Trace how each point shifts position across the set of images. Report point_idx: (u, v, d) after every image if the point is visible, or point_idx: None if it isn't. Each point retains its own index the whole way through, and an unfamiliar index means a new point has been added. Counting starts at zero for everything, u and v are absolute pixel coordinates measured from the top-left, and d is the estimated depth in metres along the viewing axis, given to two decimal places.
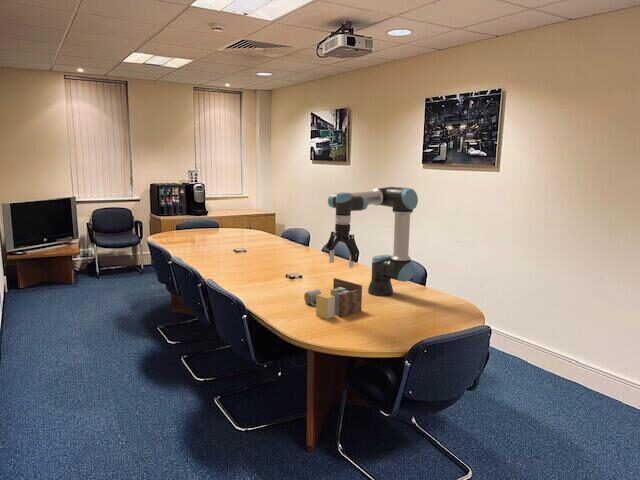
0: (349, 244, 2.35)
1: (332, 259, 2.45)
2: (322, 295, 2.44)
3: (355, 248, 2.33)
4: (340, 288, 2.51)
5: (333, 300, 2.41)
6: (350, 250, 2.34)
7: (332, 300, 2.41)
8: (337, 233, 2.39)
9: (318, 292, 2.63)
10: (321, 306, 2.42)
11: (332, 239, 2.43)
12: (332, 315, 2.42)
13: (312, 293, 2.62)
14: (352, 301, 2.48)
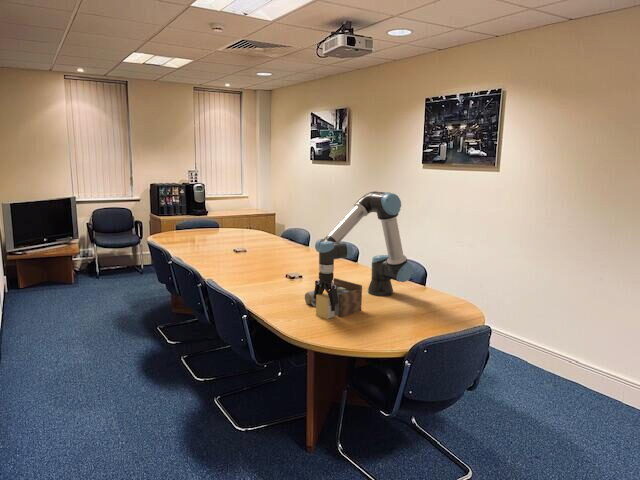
0: (331, 294, 2.40)
1: None
2: (322, 295, 2.44)
3: (335, 299, 2.37)
4: (340, 288, 2.51)
5: None
6: (330, 300, 2.39)
7: None
8: (320, 280, 2.42)
9: None
10: (321, 306, 2.42)
11: (318, 288, 2.46)
12: None
13: (313, 293, 2.61)
14: (352, 301, 2.48)
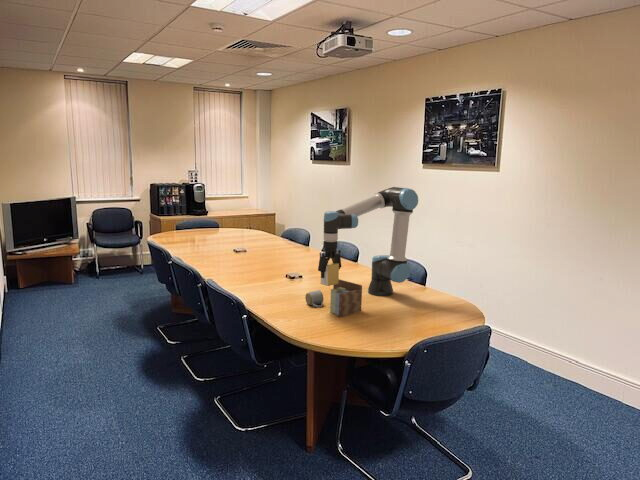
0: (324, 261, 2.49)
1: None
2: (331, 263, 2.54)
3: (319, 266, 2.47)
4: (340, 288, 2.51)
5: (326, 268, 2.49)
6: None
7: None
8: None
9: (319, 293, 2.62)
10: None
11: (337, 257, 2.56)
12: None
13: (314, 294, 2.60)
14: (352, 301, 2.48)
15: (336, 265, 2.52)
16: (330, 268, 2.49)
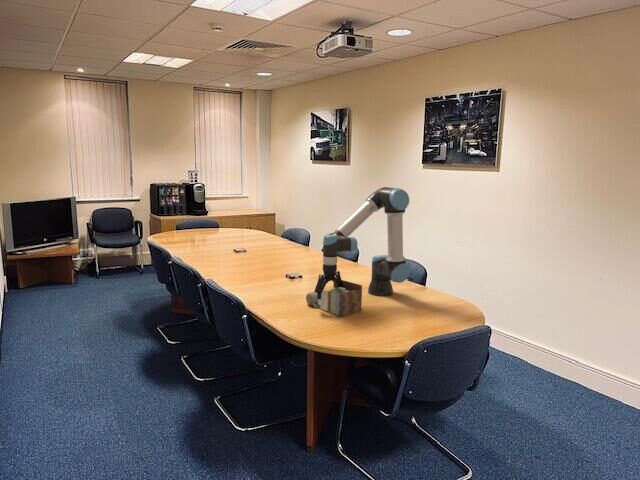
0: (322, 283, 2.51)
1: None
2: (330, 288, 2.57)
3: (317, 287, 2.48)
4: (340, 288, 2.51)
5: (326, 294, 2.51)
6: None
7: (325, 294, 2.52)
8: None
9: None
10: None
11: (337, 278, 2.58)
12: (325, 308, 2.53)
13: (314, 294, 2.60)
14: (352, 301, 2.48)
15: None
16: (330, 294, 2.52)
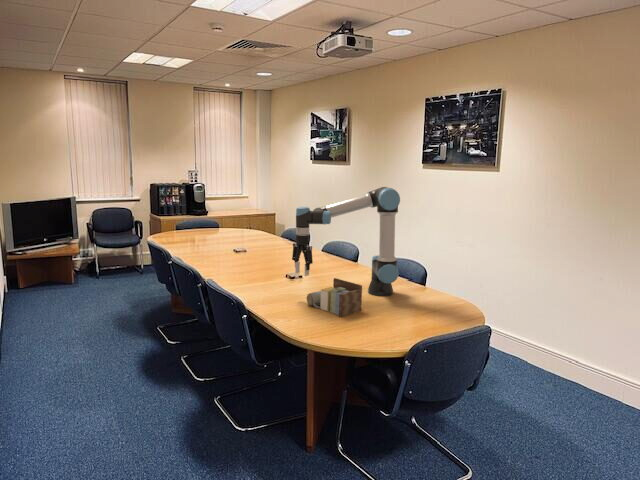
0: (306, 254, 2.65)
1: (298, 270, 2.72)
2: (330, 288, 2.57)
3: (310, 259, 2.63)
4: (340, 288, 2.51)
5: (326, 294, 2.51)
6: (306, 260, 2.64)
7: (325, 294, 2.52)
8: (297, 243, 2.67)
9: None
10: None
11: (295, 250, 2.71)
12: (325, 308, 2.53)
13: (315, 295, 2.59)
14: (352, 301, 2.48)
15: None
16: (330, 294, 2.52)
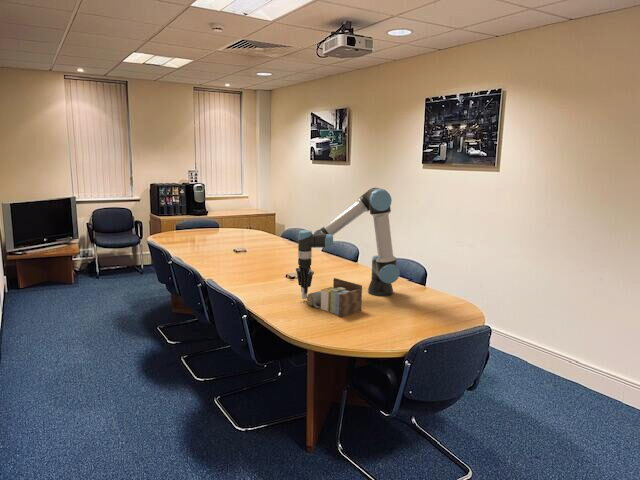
0: (306, 278, 2.67)
1: None
2: (331, 288, 2.56)
3: (309, 283, 2.65)
4: (340, 288, 2.51)
5: (326, 294, 2.51)
6: (304, 284, 2.67)
7: (325, 294, 2.51)
8: (299, 265, 2.68)
9: None
10: None
11: (300, 275, 2.71)
12: (325, 308, 2.53)
13: (315, 295, 2.59)
14: (352, 301, 2.48)
15: None
16: (330, 294, 2.51)
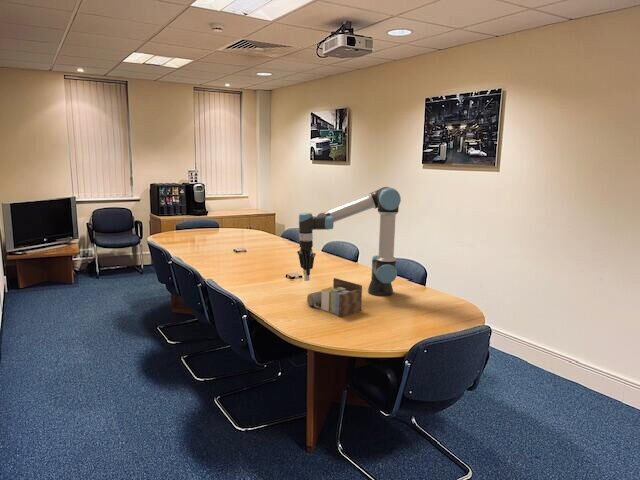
0: (308, 260, 2.69)
1: None
2: (331, 288, 2.56)
3: (311, 265, 2.68)
4: (340, 288, 2.51)
5: (327, 295, 2.51)
6: (306, 266, 2.69)
7: (326, 294, 2.51)
8: (301, 248, 2.71)
9: (321, 294, 2.60)
10: None
11: None
12: (326, 309, 2.52)
13: (316, 295, 2.58)
14: (352, 301, 2.48)
15: None
16: None
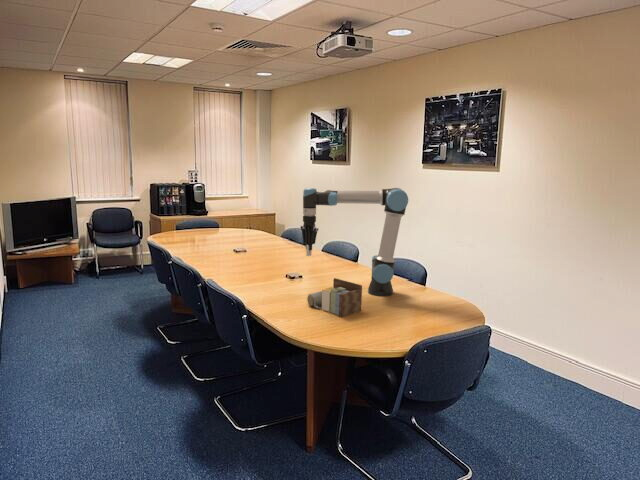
0: (311, 235, 2.72)
1: None
2: (331, 288, 2.56)
3: (313, 240, 2.71)
4: (340, 288, 2.51)
5: (327, 295, 2.51)
6: (309, 241, 2.72)
7: (326, 294, 2.51)
8: (304, 223, 2.73)
9: (321, 294, 2.60)
10: None
11: (304, 232, 2.76)
12: (327, 309, 2.52)
13: (316, 295, 2.58)
14: (352, 301, 2.48)
15: None
16: None
